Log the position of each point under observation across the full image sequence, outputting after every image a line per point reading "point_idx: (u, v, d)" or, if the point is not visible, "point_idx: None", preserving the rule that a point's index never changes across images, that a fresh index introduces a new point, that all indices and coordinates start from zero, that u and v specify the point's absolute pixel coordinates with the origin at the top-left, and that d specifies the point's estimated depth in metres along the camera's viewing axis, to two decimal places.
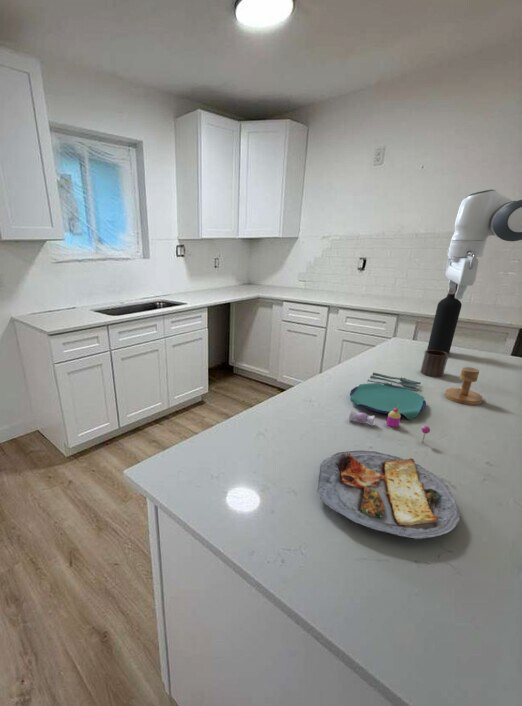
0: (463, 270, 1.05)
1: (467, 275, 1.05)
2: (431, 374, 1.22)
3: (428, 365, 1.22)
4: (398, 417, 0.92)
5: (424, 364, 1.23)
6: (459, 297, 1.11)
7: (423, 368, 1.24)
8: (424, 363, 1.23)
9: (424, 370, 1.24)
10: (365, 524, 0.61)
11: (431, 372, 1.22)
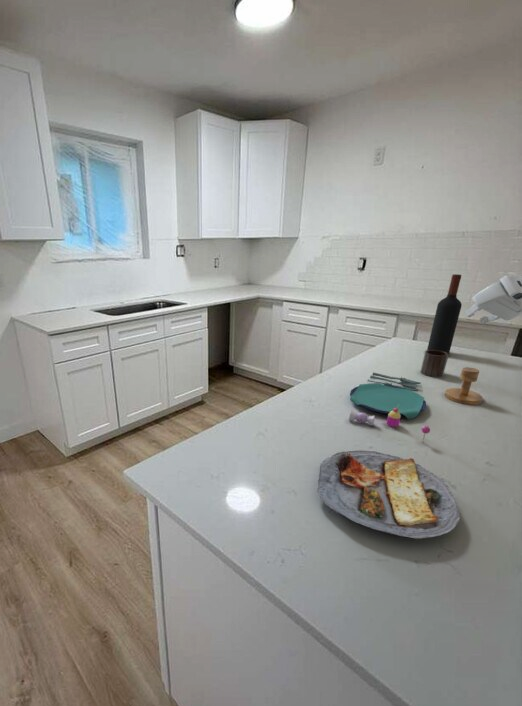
0: None
1: None
2: (431, 374, 1.22)
3: (428, 365, 1.22)
4: (398, 417, 0.92)
5: (424, 364, 1.23)
6: None
7: (423, 368, 1.24)
8: (424, 363, 1.23)
9: (424, 370, 1.24)
10: (365, 524, 0.61)
11: (431, 372, 1.22)
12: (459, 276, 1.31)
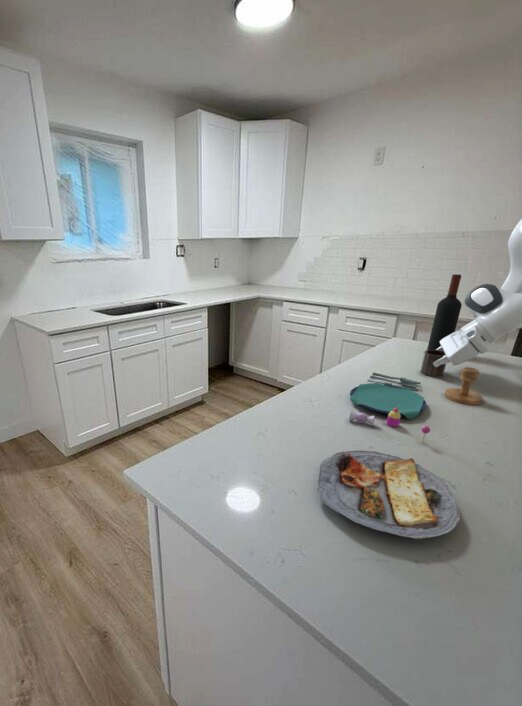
0: None
1: None
2: (430, 374, 1.22)
3: (428, 365, 1.22)
4: (398, 417, 0.92)
5: (424, 364, 1.23)
6: None
7: (423, 368, 1.24)
8: (424, 363, 1.23)
9: (424, 370, 1.24)
10: (365, 524, 0.61)
11: (431, 372, 1.22)
12: (459, 276, 1.31)
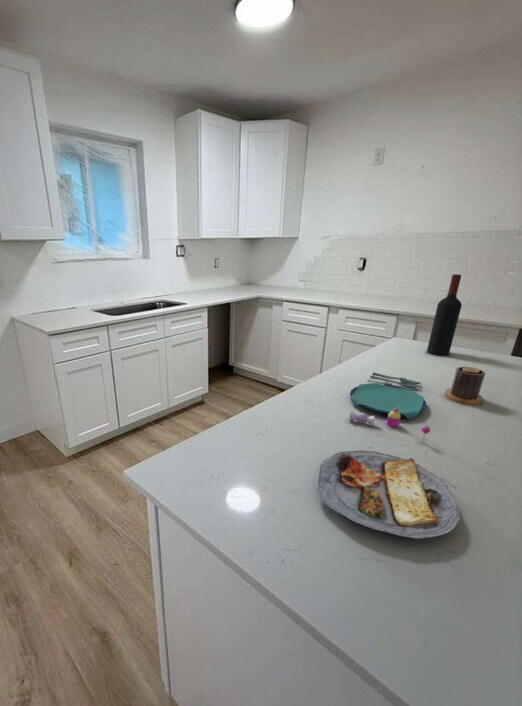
0: None
1: None
2: (463, 396, 1.04)
3: (461, 385, 1.03)
4: (398, 417, 0.92)
5: (455, 384, 1.05)
6: None
7: (454, 388, 1.06)
8: (455, 383, 1.05)
9: (455, 391, 1.05)
10: (365, 524, 0.61)
11: (464, 393, 1.04)
12: (459, 276, 1.31)
